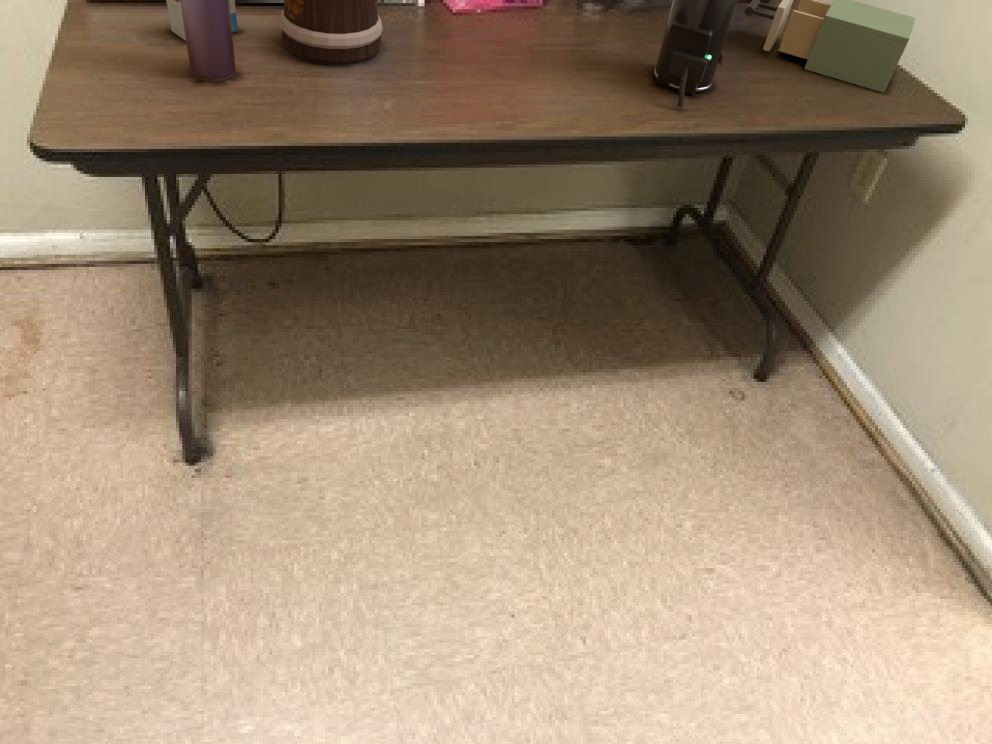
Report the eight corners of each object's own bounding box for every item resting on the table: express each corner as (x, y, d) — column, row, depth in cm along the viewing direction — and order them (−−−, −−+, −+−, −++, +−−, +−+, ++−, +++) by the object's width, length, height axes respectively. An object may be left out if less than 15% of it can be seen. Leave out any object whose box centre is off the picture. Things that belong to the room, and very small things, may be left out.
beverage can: (224, 86, 110) (211, -31, 100) (182, 77, 111) (165, -40, 100) (243, 69, 115) (232, -45, 104) (203, 60, 115) (188, -54, 105)
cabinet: (804, 69, 140) (825, 15, 133) (815, 47, 148) (836, -5, 141) (883, 92, 136) (909, 38, 130) (891, 69, 144) (915, 17, 138)
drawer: (732, 40, 143) (746, -3, 138) (746, 23, 150) (760, -19, 145) (834, 70, 138) (852, 27, 133) (843, 51, 145) (860, 9, 140)
